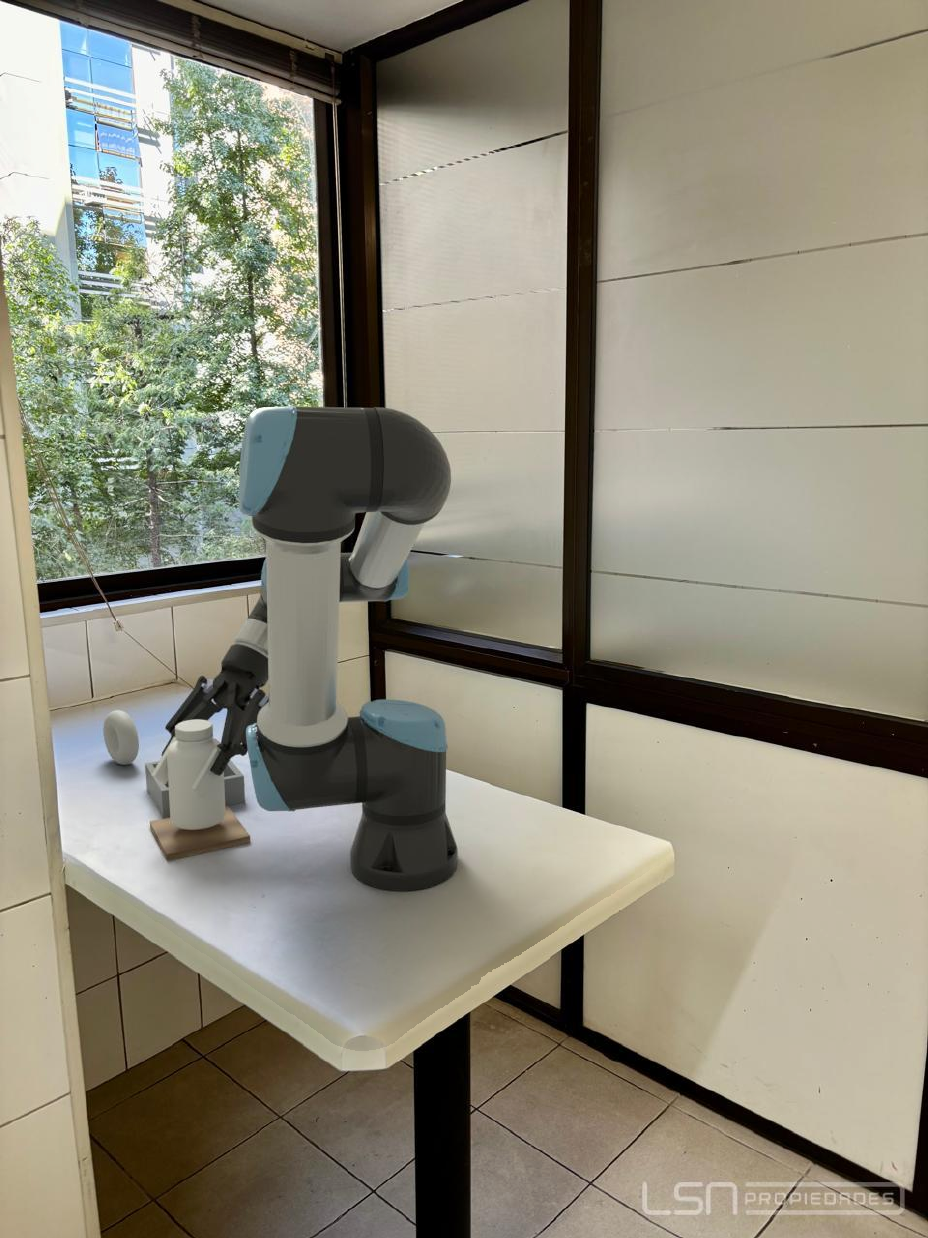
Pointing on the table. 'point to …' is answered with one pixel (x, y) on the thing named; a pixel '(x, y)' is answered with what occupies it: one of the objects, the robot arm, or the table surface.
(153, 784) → the sleeve
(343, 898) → the table surface
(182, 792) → the pill bottle
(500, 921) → the table surface
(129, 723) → the donut
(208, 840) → the pad
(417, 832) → the robot arm
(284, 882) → the table surface
